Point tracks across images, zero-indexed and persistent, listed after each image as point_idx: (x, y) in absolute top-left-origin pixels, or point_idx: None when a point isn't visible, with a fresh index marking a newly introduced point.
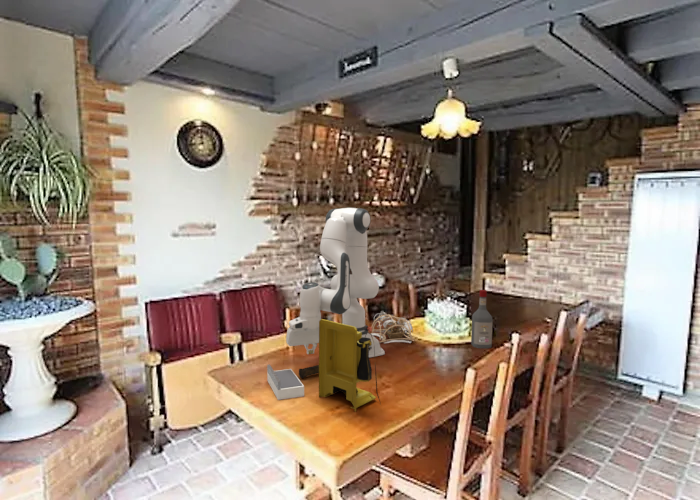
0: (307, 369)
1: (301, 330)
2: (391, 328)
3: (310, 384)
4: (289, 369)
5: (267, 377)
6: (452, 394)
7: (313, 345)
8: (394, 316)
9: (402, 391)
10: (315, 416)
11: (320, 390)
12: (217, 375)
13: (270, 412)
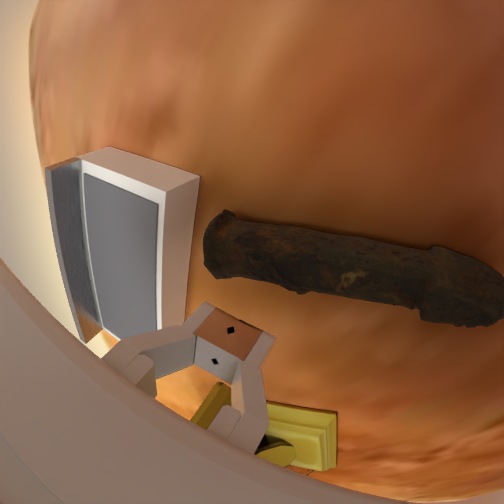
0: (245, 275)
1: None
2: None
3: (243, 309)
4: (151, 203)
5: (96, 152)
6: (446, 501)
7: (240, 404)
8: None
9: (413, 477)
10: (175, 405)
11: (213, 398)
12: (36, 28)
13: (103, 332)
